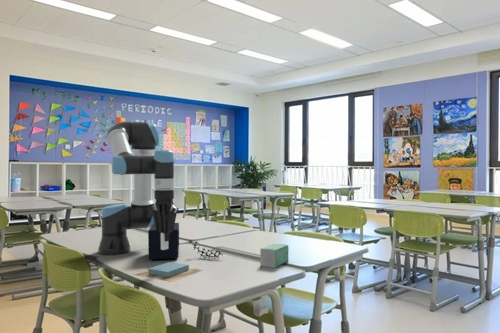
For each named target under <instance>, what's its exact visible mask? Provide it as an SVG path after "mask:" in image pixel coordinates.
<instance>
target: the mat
mask: <svg viewBox="0 0 500 333" xmlns="http://www.w3.org/2000/svg"><path fill="white" fill-rule="evenodd" d="M202 271H204V270H203V269H199V268H193V267H189V270H187V271H184V272H182V273H179V274H176V275H173V276H170V277H163V276H157V275H152V274H148V269H145V270H142V271H140V272H136V273H133V275H134V276H140V277H145V278H150V279H155V280H161V281H166V282H171V283H174V282H176V281H179V280H181V279H183V278H186V277H188V276H191V275H192V276H193V275H195V274H197V273H201V272H202Z"/></svg>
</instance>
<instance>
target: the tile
mask: <svg viewBox="0 0 500 333" xmlns="http://www.w3.org/2000/svg"><path fill="white" fill-rule="evenodd" d="M189 268H190V266H189V264H185V263H179V262H171V261H169V262H166V263H165V262H164V263H162V264H159V265H156V266H152V267H150V268H149V267H148V268H147V270H148V274H152V275H157V276H163V277H170V276H173V275H176V274H179V273H182V272H184V271H187V270H189Z"/></svg>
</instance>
